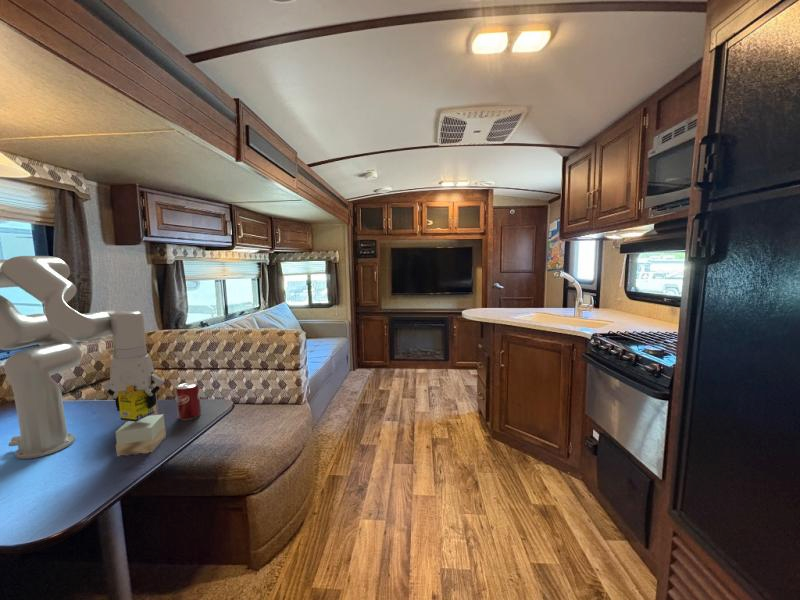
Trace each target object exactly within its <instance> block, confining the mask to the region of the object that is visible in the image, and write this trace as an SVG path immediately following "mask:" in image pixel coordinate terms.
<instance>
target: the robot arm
mask: <svg viewBox="0 0 800 600" xmlns="http://www.w3.org/2000/svg"><path fill="white" fill-rule="evenodd" d="M70 269H71V268H70V267H69V265H68V264H67V262H65V261H64V260H62V259H61V258H59V257H56V256H50V255H19V256H14V257H11V258H8V259H0V289H2V288H5V289H6V288H17V287H18V288H19V289H22V291H24V292H25V293H27V294H29V295H30V296H31V297H34V298H35V299H36V300H37V301H39V302H41V303H42V304H43V312H44V313H34V314H27V315H26V314H25V315H24V314H22V313H21V312H20V311H18V309H17V307H15V305H14V304H13V302H11V300H9V299H8V298H6V297H4V296H3V295H1V294H0V350H2V351H13V350H17V349H23V348H27V347H31V346H35V347H32V348H29V349H24V350H20V351H17V352H16V353H14V354H12V355H10V356H9V357H8V358H7V359H6V360H5V362H4V365H3V366H4V367H3V368H4V374H5V375H6V377H7V379H8V381H9V383H10V386H11V389H12V392H13V396H14V402H15V403H14V404H15V409H16V415H17V419H18V420H17V421H18V427H19V434H20V435H16V436H15V435H14V436H12V438H11V439H10V442H9V443H8V444H7V445H8V447H16V446H17V450H15V452H14V453H15V457H16V458H17V459H18V460H19V459H20V460H29V459H35V458H40V457H44V456H47V455H50V454H54V453H56V452H59V451H61V450H64V449H65V448H68V446H70V445H72V444H73V443H74V442H75V440H76V435H74V434H73V433H69V432H68V430H67V428H68V427H67V423H66V414H65V408H64V401H63V394H62V390H61V386H60V385H59V384H58V383H57V381H55V380H54V379H53V378H52V376H53V375H57V374H58V373H62V372H64V371H68V370H71V369H73V368H75V367H76V366H78V365H80V363H81V361H82V356H83V354H82V350H81V349H80V347H79V345H78V344H77V342H76V341H78V342H86V341H91V340H95V339H98V338H102V337H106V336H107V337H108V336H112V343H113V344H112V345H113V348H112V349H110V350H109V354H112V355H113V356H114V358H111V361H110V367H109V380H107V381H106V382H105V383H103V384H102V388H103V389H104V390H105V391H106V392H107V394H109V396H110V395H111V396H112V398H113V399H114V400H115V402H114V403H115V406H116V411H117V412H120V408H119V398H118V392H123V391H126V386H136V387H137V390H145V392H146V393H147V394H148V396H147V408H148V409H151V408H152V407H153V406H155V404H156V397H157V392H158V391H159V390H160V389H161V388H162V386H163V385H165V383H166V380H165V379H164V378H161V377H160V376H158V375H157V374H155V368H154V364H153V361H152V358H151V356H150V354H149V353H148V350H147V349H148V348H147V340H146V330H145V319H144V315H143V313H142V312H141V311H139V310H127V311H126V310H124V311H121V310H114V309H105V310H101V311H100V310H99V311H92V312H87V313H80V312H78V311H77V310H76V309H74V308H73V307H71V306H69V305H68V304H67V303H69V302H70V301H71V300H72V299H73V298H74V297H75V296H76V294H77V286H76V285H75V284H74V283H73V282H72V281H70V280H68V278H69V276H70V275H71V270H70ZM36 345H38V346H36ZM154 383H155V387H154V385H153V384H154ZM149 387H150V388H149Z"/></svg>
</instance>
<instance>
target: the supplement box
mask: <svg viewBox="0 0 800 600" xmlns="http://www.w3.org/2000/svg"><path fill="white" fill-rule="evenodd" d="M149 388H150V387H149ZM147 396H148V394H147V393H146V392H145V390H137V387H136V386H126V391H123V392H118V398H119V408H120V411H119V414H120V415H119V416H120V421H125V422H127V421H134V422H137V421H139V420H140V419H142V418H144V417H146V416H148V415H151V414H153V413H154V409H153V407H152V408H151V409H148V408H147Z"/></svg>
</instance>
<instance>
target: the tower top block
mask: <svg viewBox="0 0 800 600" xmlns="http://www.w3.org/2000/svg"><path fill="white" fill-rule="evenodd" d="M165 425H166V424H165V416H164V413H163V414H159V415H152V416H146V417H144V418H142V419H140V420H139V421H137V422H134V421H125V423H124V424H123V425H121V426H120V427H119V428H118V429H117V430H116V431H114V432H115V433H114V434H115V439H116V444H117V445H119V444H127V443H134V442H142V441H149V440H153V439H154V438H155V436H156V435H157V434H158V433H159V432H160V431H161V430H162V428H163V427H164V426H165ZM165 427H166V426H165Z"/></svg>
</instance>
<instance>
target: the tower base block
mask: <svg viewBox="0 0 800 600" xmlns="http://www.w3.org/2000/svg"><path fill="white" fill-rule="evenodd" d="M166 437H167V433H166V426H164V427H163V428H162V430H161V431H160V432H159V433H158V434H157V435H156V436H155V438H154V439H153V440H149V441H142V442H134V443H127V444H119V445H117V443H116V444H115V449H116V457H121V456H120V455H125V456H131V455H130V454H134V455H139V454H138V453H143V454H149V452H151V453H153V451H155V449H157V447H158V446H159V445H160V444H161V443H162V442H163V441H164V440H165V438H166ZM163 439H164V440H163ZM162 440H163V441H162ZM161 441H162V442H161Z"/></svg>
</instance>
